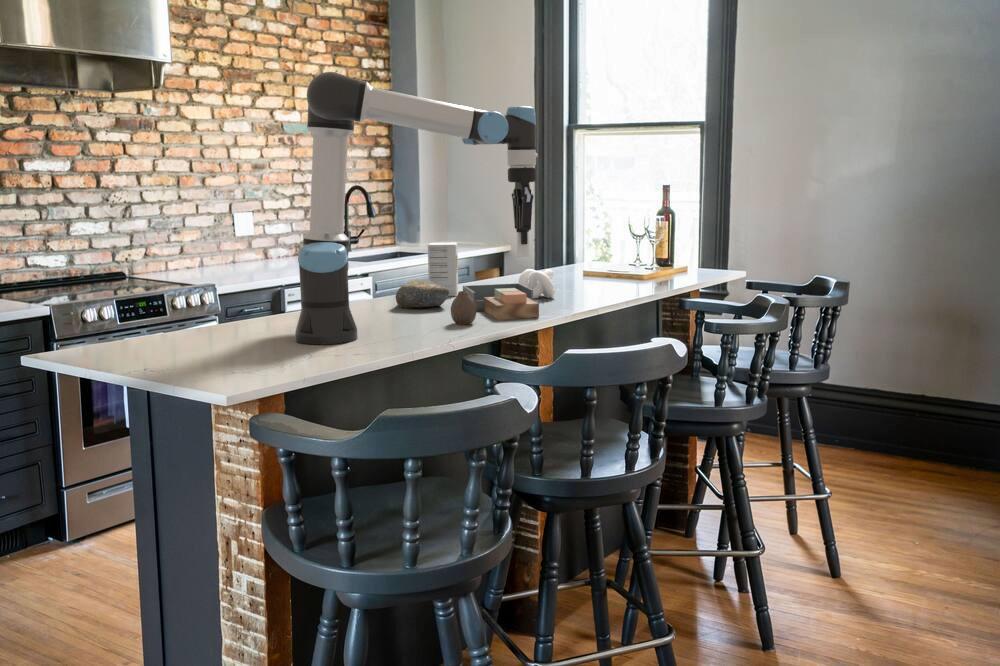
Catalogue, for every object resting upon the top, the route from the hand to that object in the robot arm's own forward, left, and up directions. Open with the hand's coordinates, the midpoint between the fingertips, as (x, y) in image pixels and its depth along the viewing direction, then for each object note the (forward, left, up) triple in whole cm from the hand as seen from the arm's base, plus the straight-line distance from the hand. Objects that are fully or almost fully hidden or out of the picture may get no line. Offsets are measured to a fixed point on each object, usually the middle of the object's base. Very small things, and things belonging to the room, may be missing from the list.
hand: (523, 256), depth 245 cm
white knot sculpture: (+17, +41, -18) cm, 48 cm away
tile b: (0, +17, -14) cm, 22 cm away
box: (0, +29, -18) cm, 34 cm away
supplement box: (-11, +58, -18) cm, 62 cm away
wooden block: (0, +13, -18) cm, 22 cm away
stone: (-22, +34, -18) cm, 45 cm away
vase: (-16, +2, -18) cm, 24 cm away
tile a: (0, +10, -14) cm, 17 cm away
